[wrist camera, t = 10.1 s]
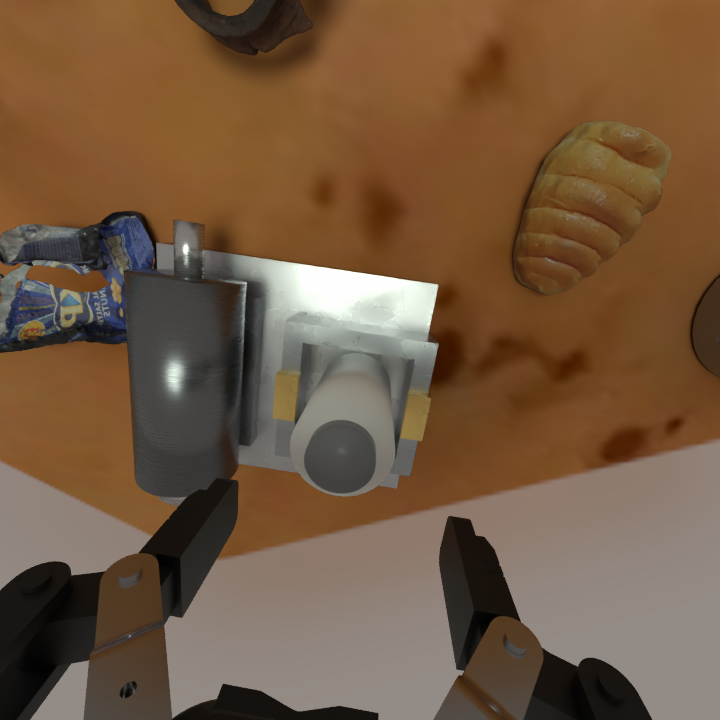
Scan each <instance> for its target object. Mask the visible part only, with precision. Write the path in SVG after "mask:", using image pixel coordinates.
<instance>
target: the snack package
mask: <svg viewBox="0 0 720 720" xmlns="http://www.w3.org/2000/svg"><path fill="white" fill-rule="evenodd" d="M154 254H155V255H154ZM156 257H157V253H156V252H155V247H154V244H153V242H152V240H151V238H150V235H149V233H148V231H147V228H146V226H145V222H144V219H143V216H142V215H141V214H140V213H137V212H132V211H123V212H115V213H112V214H110V215H109V216H107V217H106V218H105V219H104V220H103V221H102V222H101V223H98V224H96V225H90V226H89V227H86V228H72V227H61V226H60V227H54V226H47V225H43V224H29V225H20V227H16V228H15V229H12V230H10V231H5V232H4V233H3V234H2V235H1V238H0V261H1V262H2V263H3V264H5V265H11V266H14V265H16V264H18V263H23V265H22V266H21V267H20V268H18V269H16V270H15V271H12V272H11V273H9V274H8V275H7V276H5V278H4V276H3V275H2V274H0V278H2V279H1V281H2V283H0V291H1V292H2V296H1V294H0V296H1V297H2V298H3V299H1V301H3V302H1V303H0V353H3V352H13V351H22V350H28V349H33V348H38V347H43V346H46V345H53V344H60V343H61V344H64V343H67V342H73V341H83V340H86V341H87V342H100V343H104V344H105V343H107V344H120V343H127V328H126V311H125V293H124V275H123V271H124V270H126V269H136V268H148V269H152V268H151V267H152V264H153V258H155V259H156ZM34 265H41V266H48V265H49V266H51V267H60V268H64V269H70V270H74V271H76V272H77V273H79V274H81V275H86V274H87V273H89V272H90V271H91V270H99V271H100V272H101V273H102V274H103V276H104V277H105V279H106V280H107V281H108V282H109V283H110V285H109V286H107V287H105V288H103V289H101V290H98V291H97V292H93V293H91V292H84V293H81V292H80V293H79V292H72V291H69V290H64V289H61V288H57V287H55V286H52V285H51V284H48V283H43V282H38V281H33V280H32V281H30V280H29V279H28V278H27V279H26V278H25V276H26V273H27V271H28V270H29V268H30V267H32V266H34ZM154 269H155V263H154ZM18 281H22V282H20V283H21V285H20V287H19V288H18V289H17V288H16V283H17V282H18Z"/></svg>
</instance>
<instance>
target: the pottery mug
mask: <svg viewBox="0 0 720 720" xmlns="http://www.w3.org/2000/svg"><path fill="white" fill-rule="evenodd" d="M175 2H176V3H177V5H178V6H179V7H180V8H181V9H182V10H183V11H184V13H185V14H186V15H187V16H188V17H189V18H190V19H191V20H193V21H194V22H196V23H197V24H198V25H199V26H200V27H201V28H203V29H204V30H206V31H207V32H209V33H210V34H211V35H212V36H213V37H215V38H216V39H217V40H218V41H220V42H221V43H222V44H224V45H225V46H227V47H229V48H230V49H232V50H235V51H237V52H240V53H245V54H249V55H257V53H258V50H260V51H262V52H265V53H266V52H269V51H271V50H272V49H274V48H275V47H276V46H277V45H278V44H280V43H281V42H282V41H283V40H285V39H287V38H289V37H291V36H293V35H295V34H297V33H303V32H305V31H307V30H309V29H311V28H312V27H313V24H312V22H311V21H310V20H309V19H308V17H307V16H306V14H305V12H304V9H303V6H302V4H301V2H300V0H254V2H253V3H252V5H251V6H250V7H249V8H248V9H247V10H246V11H245V12H244V13H241V14H239V15H235V16H226V15H221V14H219V13H216V12H214V11H213V10H211V7H210V4H209V2H208V1H207V0H175Z"/></svg>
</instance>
